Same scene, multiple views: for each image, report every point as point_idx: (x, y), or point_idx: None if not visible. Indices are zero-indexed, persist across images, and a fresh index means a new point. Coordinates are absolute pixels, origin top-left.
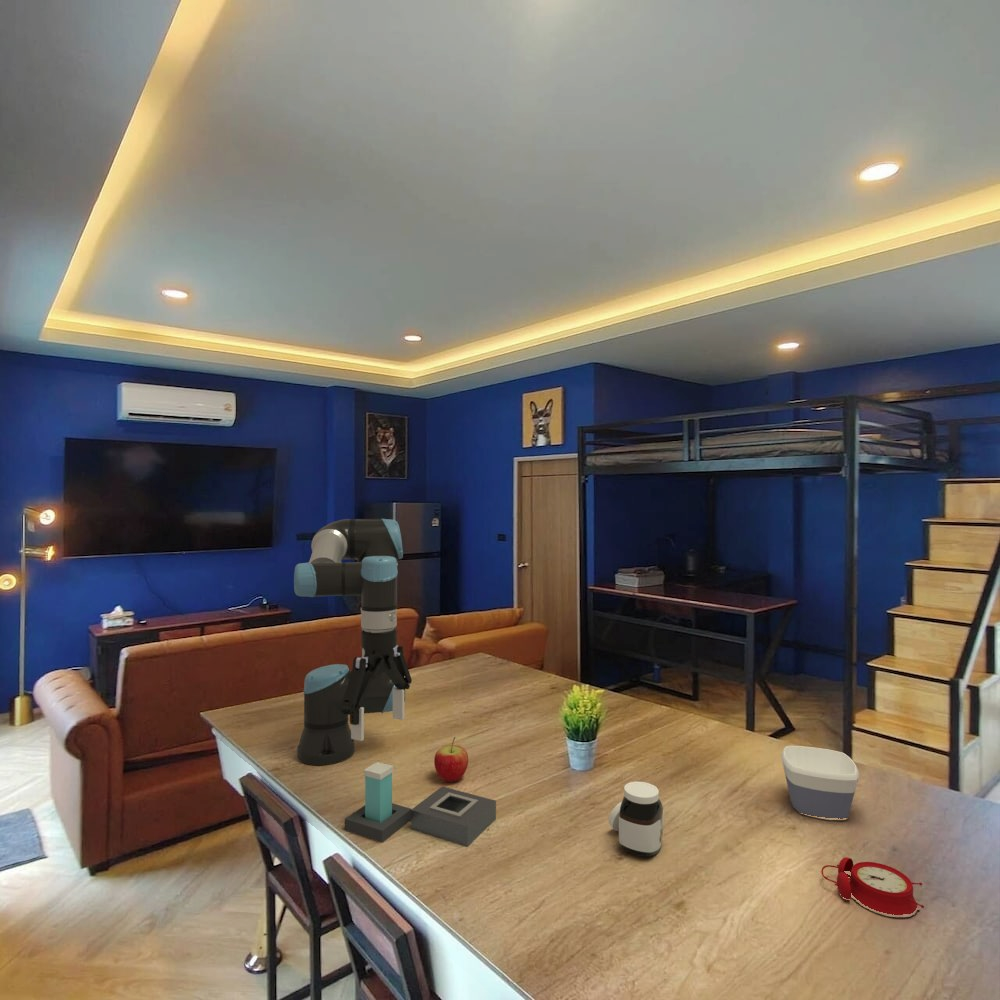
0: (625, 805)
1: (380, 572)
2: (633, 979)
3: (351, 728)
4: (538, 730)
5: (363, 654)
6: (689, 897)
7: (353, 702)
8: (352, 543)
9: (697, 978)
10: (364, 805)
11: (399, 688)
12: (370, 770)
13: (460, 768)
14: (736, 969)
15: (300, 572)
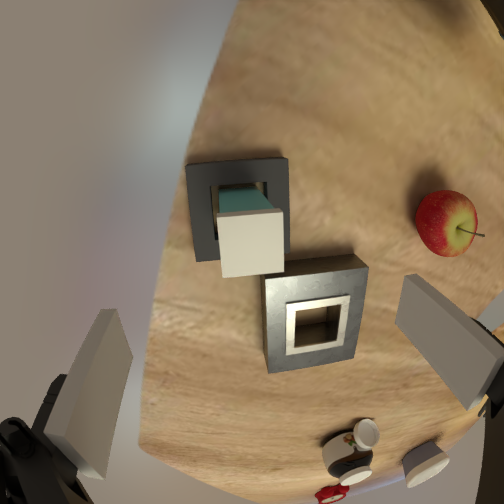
0: (340, 469)
1: None
2: (192, 472)
3: (85, 341)
4: None
5: None
6: (288, 469)
7: (23, 501)
8: None
9: (216, 483)
10: (250, 161)
11: (493, 383)
12: (225, 237)
13: (432, 251)
14: (236, 487)
15: None
